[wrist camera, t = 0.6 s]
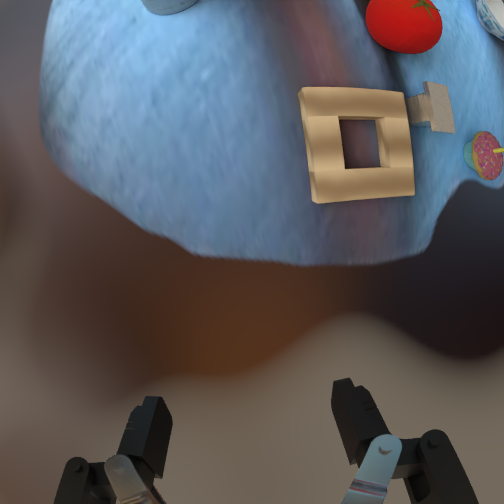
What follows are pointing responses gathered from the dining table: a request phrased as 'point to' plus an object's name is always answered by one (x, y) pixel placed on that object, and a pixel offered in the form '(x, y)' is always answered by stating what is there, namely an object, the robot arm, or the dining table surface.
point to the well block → (331, 152)
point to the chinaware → (491, 16)
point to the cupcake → (484, 155)
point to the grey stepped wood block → (431, 109)
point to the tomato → (404, 24)
